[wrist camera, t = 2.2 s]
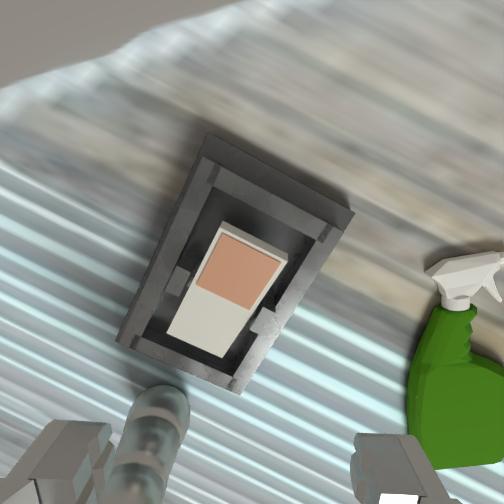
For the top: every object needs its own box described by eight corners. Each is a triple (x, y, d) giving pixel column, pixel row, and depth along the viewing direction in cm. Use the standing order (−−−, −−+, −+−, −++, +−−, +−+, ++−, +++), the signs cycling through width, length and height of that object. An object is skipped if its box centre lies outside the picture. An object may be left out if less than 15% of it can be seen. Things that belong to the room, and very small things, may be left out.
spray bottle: (403, 450, 37) (398, 259, 30) (497, 440, 36) (514, 242, 29) (415, 474, 34) (412, 270, 27) (517, 464, 34) (541, 252, 27)
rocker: (226, 349, 30) (223, 360, 28) (168, 323, 29) (163, 333, 28) (290, 254, 24) (290, 263, 23) (220, 219, 23) (216, 226, 22)
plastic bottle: (203, 388, 34) (135, 682, 15) (182, 430, 36) (99, 738, 17) (148, 368, 34) (5, 650, 15) (129, 412, 36) (-17, 712, 17)
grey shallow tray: (240, 384, 34) (237, 427, 29) (121, 332, 32) (94, 367, 27) (350, 209, 28) (371, 223, 23) (210, 133, 26) (198, 128, 21)
